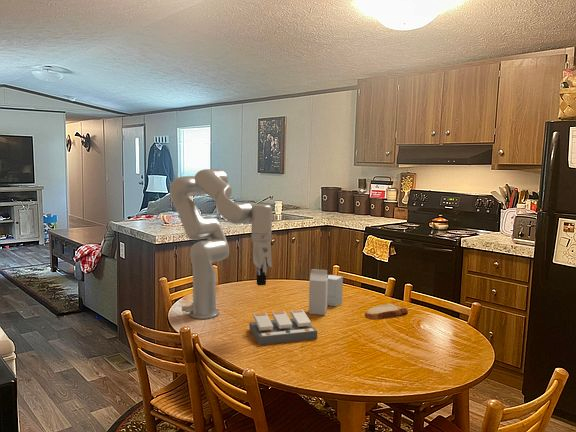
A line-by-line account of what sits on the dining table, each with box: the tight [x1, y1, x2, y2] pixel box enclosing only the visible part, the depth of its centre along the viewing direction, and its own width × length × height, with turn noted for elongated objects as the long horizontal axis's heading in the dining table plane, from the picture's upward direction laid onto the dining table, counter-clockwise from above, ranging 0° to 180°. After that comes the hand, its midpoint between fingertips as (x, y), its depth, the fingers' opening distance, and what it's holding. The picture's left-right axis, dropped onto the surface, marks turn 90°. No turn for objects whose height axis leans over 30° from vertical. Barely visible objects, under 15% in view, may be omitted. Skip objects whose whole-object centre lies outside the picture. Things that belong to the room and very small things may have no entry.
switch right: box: [289, 308, 312, 327], centre depth 188 cm, size 5×10×2 cm, turn 18°
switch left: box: [253, 311, 273, 331], centre depth 183 cm, size 5×10×2 cm, turn 18°
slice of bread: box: [364, 303, 409, 320], centre depth 211 cm, size 18×18×4 cm
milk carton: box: [308, 268, 329, 316], centre depth 211 cm, size 7×7×19 cm
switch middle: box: [271, 310, 292, 329], centre depth 186 cm, size 5×10×2 cm, turn 18°
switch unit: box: [248, 317, 318, 346], centre depth 185 cm, size 22×16×4 cm
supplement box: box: [327, 274, 344, 307], centre depth 225 cm, size 7×7×13 cm
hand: (261, 284), depth 185 cm, fingers closed
